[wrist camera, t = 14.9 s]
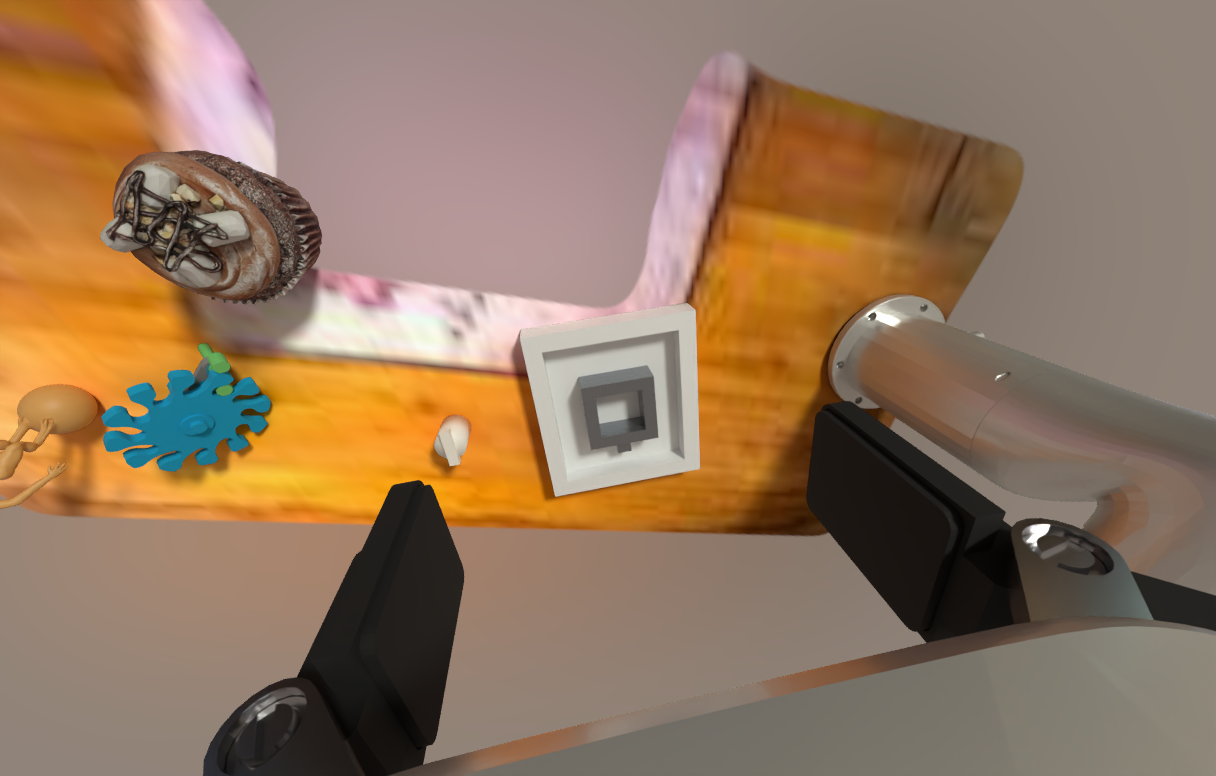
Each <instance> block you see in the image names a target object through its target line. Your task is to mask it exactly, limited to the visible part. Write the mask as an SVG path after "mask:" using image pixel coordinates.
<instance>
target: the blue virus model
mask: <svg viewBox="0 0 1216 776" xmlns="http://www.w3.org/2000/svg"><path fill="white" fill-rule="evenodd" d="M198 350H199V351H200V353H201V355H202V356H203V358H204V359H203V360H202V361H201V362H200V364H199V366H198V367H197V369H196V371H195V372H194V374H193V375H192V373H191V371H188V370H174V371H170V372H169V373H168V378H169V380H170V382H169V383H168V384H167V387H168V389H169V391H170V393H169V395H168V397H167V398H165V399H163V400H160V401H155V400H154V399H155V397H156V393H155V391H154V389H153V387H152V385H151V384H149V383H142V384H138V385H135V386H133V387H130V388H128V389H127V393H128V395H129V398H130V400H131V401H133V402H135V403H139V404H141V405H143V406H145V407H146V408H147V409H148V410H149V411H148V413H147V414H146V415H144V416H141V417H133V416H130V415H129V413H128V411H127V409H126V408H125V407H122V406H113V407H111V408H110V409H108V410H107V411H106V412H105V413H104V414H103V415H102V417H101V418H102V420H103V423H104V424H105V425H106V426H108V427H132V428H136V429H139V430H142V432H141V433H139V434H135V435H129V434H126V433H123V432H121V431H109V432H106V433H105V435H104V437H103V441H104V445H105V448H106V450H107V451H108V452H115V451H119V450H122V449H125V448H128V447H132V446H137V445H153V446H151V447H149V448H134V449H129V450H127V451H125V452H124V453H123V455H124V458H125V460H126V463H127V464H128V465H130V466H131V467H133V468H138V467H141V466H143V465H145V464H146V463H147V462H148V461H150V460H151V459H153V458H155V457H157V456H159V455H161V454H164V453H168V452H171V451H176V452H174V453H171V454H167V455H164V456H162V457H160V458H159V459H158V460H157V464H158V466H159V468H160V469H161V470H165V471H177V470H178V469H180V468H181V466H182V463H183V461H184V459H185V458H186V457H187V456H188V455H190V454H191V453H193V452H194V451H196V450H197V449H200V448H203V449H202V450H200V451H199V452H197V453H196V455H195V458H196V460H197V462H198V464H199V465H207V464H212V463H216V462H217V460H218V457H217V455H216V453H215V449H216V446H217V445H218V443H219V442H220V441H221V440H223V439H225V438H228V440H227V444H228V446H229V448H230V449H231V451H234V452H235V451H238V450H240V449H243V448H245V447H246V446H248V445H249V443H248V441H247V440H246V438H245V436H243V435H240V434H238V433H236V432H235V429H236V427H237V426H239V425H241V424H247V425H248V427H249V428H250V430H251V431H252V432H260V431H261V430H262V429H264V427H265V426H266V425H267V424H268V423H267V421H266V420H265V418H264V417H263V416H259V415H258V416H250V415H245V414H243V413H241V412H242V411H243V410H245V409H248V408H252V409H254V410H256V411H257V412H266V411H268V410H269V408H270V402H271V401H270V400H269V398H268V397H267V396H266V395H259V396H256V397H253V398H249V399H233V398H234V397H236V396H238V395H255V394H257V393H258V392H259V388H258V386H257V385H256V383H255V382H254V380H253V379H252V378H251V377H247V378H244V379H242V380H241V381H240V382H238V383H237V384H236V385H234V386H231V385H230V383H231V382H232V381H233V379H234V378H233V377H232V375H231V374H230V372H228V370H229V369H230V364H229V363H228V361H227V360H226V358H225V357H224V355H223V354H222V353H217V352H216V353H213V351H212V350H211V348H210V346H209V345H208V344H206V343H202V344H199V345H198ZM214 390H215V391H214Z"/></svg>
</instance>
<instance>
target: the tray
mask: <svg viewBox="0 0 1216 776" xmlns="http://www.w3.org/2000/svg"><path fill="white" fill-rule="evenodd" d="M520 341H521V346H522V350H523V355H524V359H525V364H526V368H527V373H528V377H529V382H530V386H531V391H532V395H533V399H534V404H535V408H536V413H537V417H538V422H539V426H540V431H541V435H542V440H543V444H544V449H545V453H546V458H547V462H548V466H549V471H550V475H551V480H552V484H553V489H554V493H555V497H556V496H562V495H567V494H572V493H577V492H582V491H588V490H593V489H598V488H603V487H608V486H614V485H619V484H624V483H629V482H634V481H639V480H645V479H650V478H655V477H660V476H665V475H671V474H676V473H681V472H686V471H691V470H697V469H700V456H699V419H698V382H697V345H696V310H695V309H694V308H692V307H691V306H690V305H689V304H688V303H682V304H676V305H670V306H664V307H657V308H651V309H645V310H639V311H632V312H626V313H620V314H614V315H608V316H601V317H595V318H589V319H583V320H576V321H570V322H564V323H558V324H552V325H545V326H539V327H533V328H527V329H521V332H520ZM645 365H647V366H648V367H649V369H650V371H651V372H652V374H653V376H654V386H655V398H656V411H657V424H658V437H659V438H654V439H649V440H643V441H638V442H632V443H631V449H632V451H627V452H622V453H618V451H617V446H611V447H605V448H600V449H595V450H591V448H590V443H589V438H588V432H587V426H586V420H585V414H584V408H583V402H582V396H581V390H580V384H579V378H578V377H581V376H587V375H593V374H599V373H605V372H611V371H616V370H622V369H628V368H634V367H640V366H645ZM596 404H597V411H598V418H599V424H601V423H607V422H612V421H618V420H624V419H629V418H635V417H640V410H639V400H638V391H633V392H627V393H622V394H616V395H610V396H605V397H599V398H596Z"/></svg>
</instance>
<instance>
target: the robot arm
mask: <svg viewBox="0 0 1216 776" xmlns="http://www.w3.org/2000/svg"><path fill="white" fill-rule="evenodd" d="M828 378H829V382H830V385H831V387H832V388H833V390H834V392H835V393H836V394H837V395H838V396H839V397H840V398H841V399H843V400H844V401H843V402H838V403H832V404H827V405H824V406H823V407H822V409H821V412H818V413H817V415H816V418H815V426H814V434H813V443H812V452H811V460H810V469H809V477H808V486H807V495H806V498H807V503H808V506H809V508H810V510H811V511H812V512H813V514H814V515H815V516H816V517H817V518H818V520H819V521H820V522H821V523H822V525H823V526H824V527H825V528H826V529H827V531H828V532H829V533H830V534H831V535H832V536H833V538H834V539H835V540H836V542H838V544H839V545H840V546H841V548H842V549H843V550H844V551H845V553H846V554H847V555H848V556H849V557H850V559H851V560H852V561H853V562H854V563H855V565H856V566H857V567H858V568H859V570H860V571H861V572H862V573H863V574H864V576H865V577H866V578H867V579H868V581H869V582H870V583H871V584H872V585H873V587H874V588H875V589H876V590H877V592H878V593H879V594H880V595H881V596H882V598H883V599H884V600H885V601H886V602H887V604H888V605H889V606H890V607H891V608H892V610H893V611H894V612H895V613H896V615H897V616H898V617H899V618H900V620H901V621H902V622H903V623H904V624H905V625H906V626H907V627H908V628H909V629H910V630H912V631H915V632H916V631H917V632H918V633H919V634H920V635H921V637H922V638H923V639H924V640H925V641H926V643H925V644H921V645H916V646H912V647H908V648H904V649H899V650H895V651H890V652H886V653H882V654H877V655H873V656H868V657H864V658H860V659H856V660H851V661H847V662H842V663H838V664H834V665H830V666H825V667H821V668H817V669H812V670H808V671H804V672H800V673H795V674H791V675H787V676H782V677H778V678H774V679H770V680H766V681H761V682H757V683H753V684H748V685H744V686H740V687H736V688H731V689H727V690H723V691H719V692H715V693H711V694H706V695H702V696H698V697H693V698H689V699H685V700H681V701H677V702H673V703H668V704H664V705H660V706H656V707H651V708H647V709H643V710H639V711H635V712H631V713H627V714H623V715H618V716H615V717H610V718H606V719H602V720H598V721H594V722H590V723H585V724H581V725H577V726H573V727H569V728H565V729H560V730H556V731H552V732H548V733H544V734H540V735H536V736H532V737H527V738H523V739H519V740H515V741H511V742H508V743H504V744H500V745H496V746H492V747H489V748H485V749H481V750H477V751H474V752H470V753H466V754H462V755H458V756H454V757H451V758H447V759H443V760H439V761H435V762H431V763H428V764H424V765H423V762H424V757H425V751H426V746H428V745H432V744H433V743H434V741H435V739H436V736H437V731H438V725H439V719H440V714H441V708H442V703H443V697H444V691H445V686H446V679H447V674H448V669H449V663H450V658H451V652H452V646H453V641H454V635H455V629H456V624H457V618H458V612H459V606H460V601H461V595H462V590H463V583H464V570H463V566H462V563H461V560H460V558H459V555H458V552H457V550H456V547H455V545H454V542H453V540H452V538H451V534H450V532H449V529H448V527H447V524H446V521H445V519H444V516H443V514H442V511H441V508H440V506H439V503H438V501H437V498H436V496H435V493H434V490H433V488H432V487H431V485H424V484H423V483H422V482H421V481H420V480H417V481H411V482H406V483H401V484H395V485H393V486H392V487H391V489H390V491H389V493H388V495H387V497H386V499H385V501H384V504H383V506H382V508H381V510H380V512H379V514H378V516H377V519H376V521H375V523H374V525H373V527H372V530H371V532H370V534H369V536H368V538H367V540H366V542H365V544H364V547H363V549H362V551H360V552H359V553H358V554H356V556H355V557H354V559H353V561H352V563H351V565H350V567H349V569H348V571H347V573H346V575H345V578H344V579H343V582H342V584H341V586H340V588H339V590H338V592H337V594H336V596H335V598H334V600H333V603H332V605H331V607H330V609H329V611H328V613H327V615H326V618H325V619H324V622H323V623H322V626H321V628H320V630H319V632H318V634H317V636H316V638H315V640H314V643H313V645H312V647H311V649H310V651H309V653H308V655H307V657H306V659H305V661H304V664H303V665H302V668H301V670H300V672H299V674H298V676H297V677H295V678H288V679H283V680H281V681H278V682H276V683H273V684H271V685H268V686H267V687H265V688H264V689H262V690H260V691H259V692H257V693H256V694H254V695H253V696H251V697H250V698H249V699H248V700H247V701H245V702H244V703H243V704H242V705H241V706H239V707H238V708H237V709H236V710H235V711H234V712H233V713H232V714H231V716H230V717H229V718H228V719H227V720H226V721H225V722H224V724H223V725H222V726H221V727H220V729H219V730H218V732H217V733H216V735H215V737H214V738H213V740H212V741H211V743H210V746H209V748H208V750H207V753H206V756H205V758H204V766H203V776H1216V416H1213V415H1210V414H1206V413H1203V412H1199V411H1195V410H1192V409H1188V408H1184V407H1181V406H1177V405H1174V404H1170V403H1167V402H1163V401H1160V400H1158V399H1154V398H1151V397H1149V396H1146V395H1142V394H1139V393H1136V392H1133V391H1130V390H1127V389H1124V388H1121V387H1118V386H1115V385H1112V384H1109V383H1107V382H1104V381H1101V380H1098V379H1095V378H1093V377H1090V376H1087V375H1084V374H1081V373H1079V372H1076V371H1073V370H1071V369H1068V368H1065V367H1062V366H1059V365H1057V364H1054V363H1051V362H1048V361H1046V360H1043V359H1040V358H1037V357H1035V356H1032V355H1029V354H1026V353H1024V352H1021V351H1018V350H1015V349H1012V348H1010V347H1007V346H1004V345H1002V344H999V343H996V342H993V341H990V340H988V339H985V336H984V334H983V333H982V332H978V331H976V332H970V333H969V332H966V331H963V330H960V329H957V328H955V327H952V326H949V325H946V323H945V320H944V317H943V314H942V313H941V312H940V310H939V309H938V307H937V306H935V305H934V304H933V303H932V302H931V301H928V300H926V299H924V298H921V297H917V296H914V295H907V294H899V295H893V296H888V297H885V298H882V299H879V300H877V301H875V302H873V303H871V304H870V305H868V306H866V307H865V308H863V309H862V310H861V311H859V312H858V313H857V314H856V315H855V316H854V317H853V318H852V319H851V320H850V321H849V322H848V323H847V324H846V325H845V326H844V328H843V329H842V330H841V332H840V333H839V335H838V337H837V338H836V340H835V342H834V344H833V347H832V349H831V352H830V355H829V361H828ZM880 407H881V408H882V409H884V410H885V411H887V412H888V413H890V414H891V415H893V416H894V417H896V418H897V419H899V420H900V421H902V422H903V423H905V424H906V425H908V426H909V427H910V428H912V429H913V430H915V431H917V432H918V433H919V434H921V435H923V436H924V437H925V438H927V439H928V440H930V441H931V442H933V443H934V444H936V445H937V446H939V447H940V448H942V449H943V450H945V451H946V452H948V453H949V454H951V455H952V456H954V457H955V458H957V459H958V460H960V461H961V462H962V463H964V464H966V465H967V466H968V467H970V468H972V469H973V470H974V471H976V472H977V473H979V474H980V475H982V476H984V477H985V478H987V479H988V480H990V481H991V482H993V483H994V484H996V485H998V486H999V487H1001V488H1003V489H1005V490H1007V491H1010V492H1012V493H1014V494H1018V495H1021V496H1024V497H1028V498H1033V499H1041V500H1049V501H1067V502H1068V501H1070V502H1097V508H1096V510H1095V512H1094V513H1093V514H1092V516H1091V517H1090V518H1089V519H1088V520H1087V521H1086V523H1085V524H1084V526H1083V527H1084V528H1083V529H1080V528H1078V527H1075V526H1073V525H1069V524H1066V523H1063V522H1059V521H1055V520H1049V519H1042V518H1030V519H1024V520H1021V521H1018V522H1016V523H1015V524H1014V525H1013V526H1012V527H1011V526H1010V525H1008V524H1007V523H1006V522H1004V521H1003V518H1004V515H1005V511H1004V510H1002V509H1001V508H1000V507H998V506H997V505H995V504H994V503H993V502H991V501H989V500H988V499H987V498H986V497H984V496H983V495H981V494H980V493H979V492H977V491H976V490H974V489H973V488H972V487H970V486H969V485H968V484H966V483H965V482H963V481H962V480H960V479H959V478H958V477H956V476H955V475H953V474H952V473H951V472H949V471H948V470H947V469H945V468H944V467H942V466H941V465H939V464H938V463H937V462H935V461H934V460H933V459H931V458H930V457H928V456H927V455H926V454H924V453H923V452H921V451H920V450H918V449H917V448H916V447H914V446H913V445H912V444H910V443H909V442H907V441H906V440H905V439H903V438H902V437H900V436H899V435H898V434H896V433H895V432H893V431H892V430H891V429H889V428H888V427H886V426H885V425H884V424H882V423H881V422H879V421H878V420H877V419H875V418H874V417H872V416H871V415H870V414H868V413H867V412H865V411H864V410H863V409H861V408H864V409H875V408H880Z"/></svg>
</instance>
